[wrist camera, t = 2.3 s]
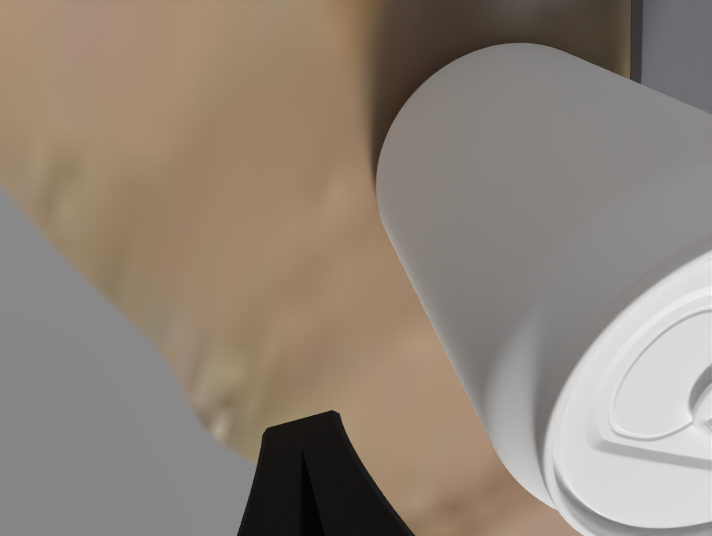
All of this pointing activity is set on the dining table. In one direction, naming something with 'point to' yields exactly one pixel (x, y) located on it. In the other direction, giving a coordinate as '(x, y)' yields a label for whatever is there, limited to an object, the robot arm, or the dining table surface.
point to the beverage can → (567, 276)
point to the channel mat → (674, 49)
